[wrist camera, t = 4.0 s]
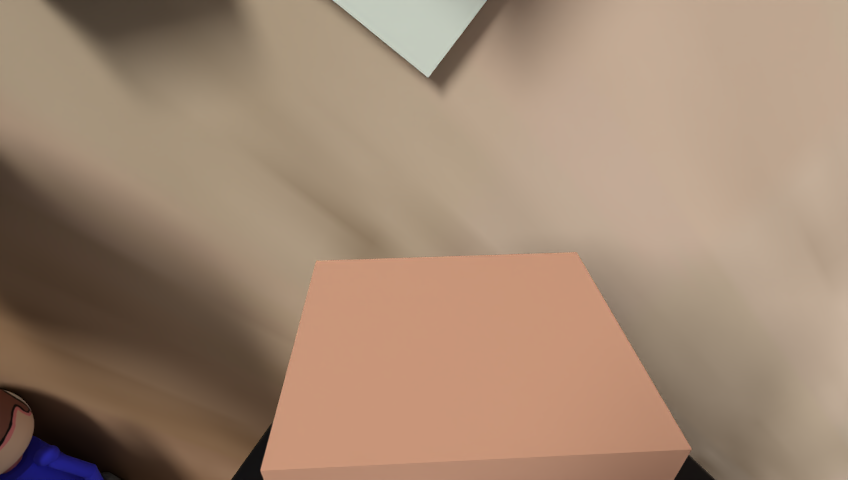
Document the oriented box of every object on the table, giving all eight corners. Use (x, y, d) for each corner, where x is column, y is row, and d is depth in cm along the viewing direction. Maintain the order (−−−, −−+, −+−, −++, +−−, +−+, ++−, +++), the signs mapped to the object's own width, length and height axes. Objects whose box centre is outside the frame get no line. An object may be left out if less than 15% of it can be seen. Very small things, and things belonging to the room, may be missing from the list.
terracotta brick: (539, 410, 11) (599, 605, 8) (344, 419, 11) (321, 622, 8) (576, 252, 8) (691, 448, 5) (315, 260, 8) (260, 470, 5)
